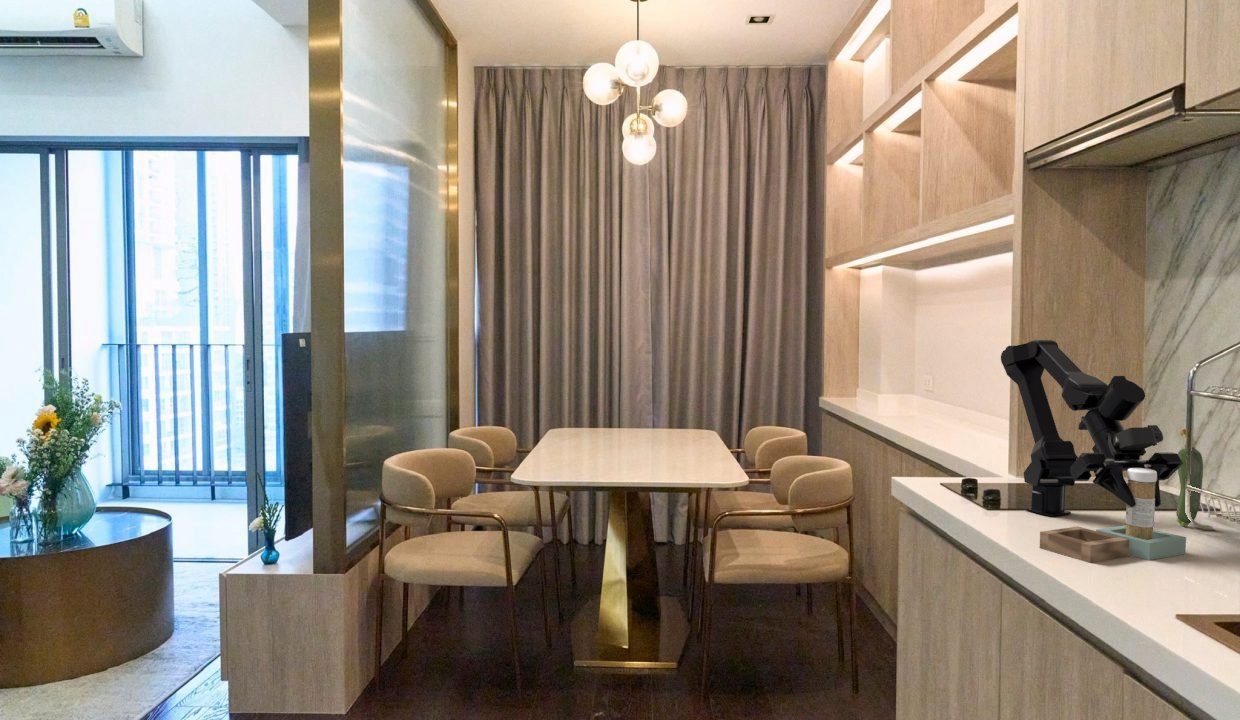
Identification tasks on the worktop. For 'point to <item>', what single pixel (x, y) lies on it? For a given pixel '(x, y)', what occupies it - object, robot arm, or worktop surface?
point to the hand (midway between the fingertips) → (1146, 505)
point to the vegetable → (1194, 481)
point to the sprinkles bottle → (1141, 503)
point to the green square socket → (1151, 543)
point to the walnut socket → (1084, 544)
